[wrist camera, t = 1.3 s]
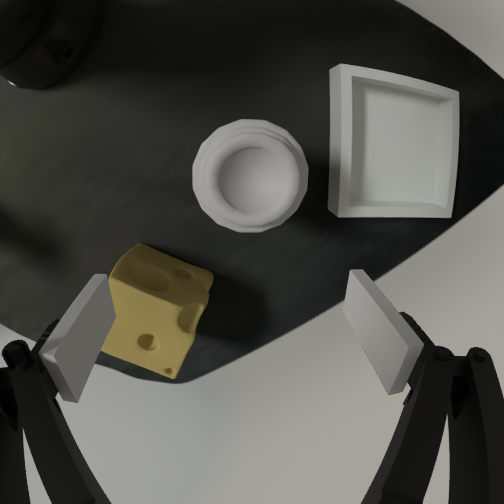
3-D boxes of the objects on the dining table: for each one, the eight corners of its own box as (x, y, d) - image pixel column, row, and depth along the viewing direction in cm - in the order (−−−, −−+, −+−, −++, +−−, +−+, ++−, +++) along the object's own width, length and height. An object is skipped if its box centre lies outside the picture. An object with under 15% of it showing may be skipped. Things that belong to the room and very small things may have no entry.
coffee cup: (301, 155, 32) (338, 167, 21) (253, 219, 35) (266, 262, 23) (234, 107, 30) (237, 92, 18) (186, 175, 32) (164, 198, 21)
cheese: (214, 270, 37) (210, 316, 27) (184, 333, 40) (175, 385, 31) (136, 236, 34) (107, 273, 25) (114, 304, 38) (89, 351, 28)
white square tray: (329, 69, 28) (340, 63, 25) (442, 92, 29) (458, 91, 26) (327, 208, 35) (337, 217, 31) (435, 210, 36) (451, 217, 32)
